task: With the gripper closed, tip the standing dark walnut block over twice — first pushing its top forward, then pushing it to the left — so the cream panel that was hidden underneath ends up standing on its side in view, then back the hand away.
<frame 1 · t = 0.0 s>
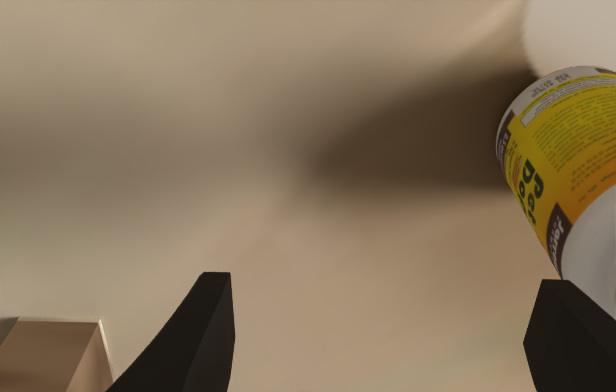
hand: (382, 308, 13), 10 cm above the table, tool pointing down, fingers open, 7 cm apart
supplement bottle: (562, 128, 22), on the table
walnut block: (70, 353, 29), on the table
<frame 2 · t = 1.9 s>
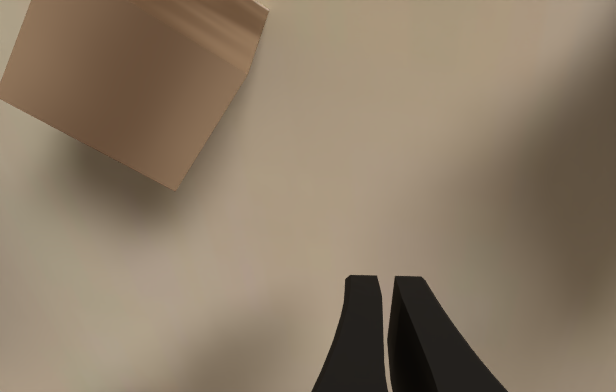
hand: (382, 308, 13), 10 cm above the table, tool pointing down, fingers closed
walnut block: (178, 17, 19), on the table
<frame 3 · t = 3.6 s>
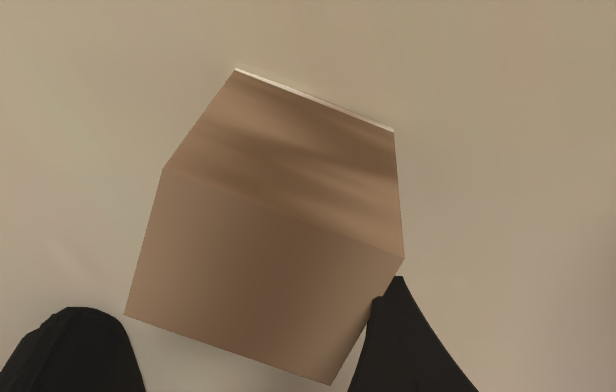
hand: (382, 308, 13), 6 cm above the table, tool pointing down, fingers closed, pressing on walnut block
walnut block: (293, 154, 18), on the table, touching gripper
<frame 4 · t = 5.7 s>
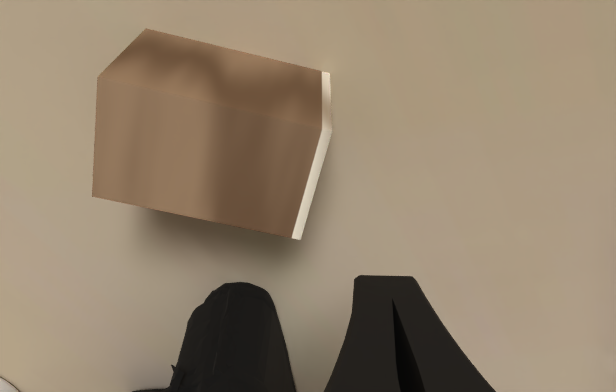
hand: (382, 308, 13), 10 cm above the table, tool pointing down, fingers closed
film camera: (215, 385, 30), on the table
walnut block: (315, 151, 19), point 2 cm above the table, tilted 90°
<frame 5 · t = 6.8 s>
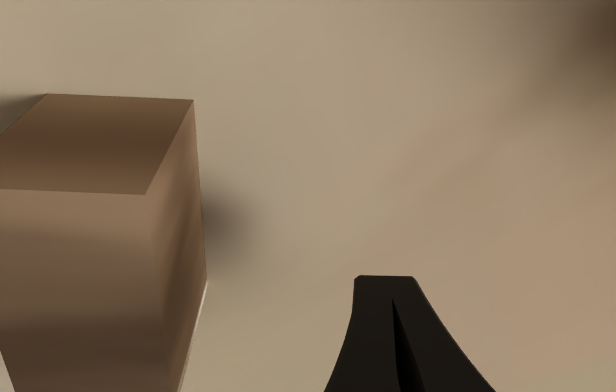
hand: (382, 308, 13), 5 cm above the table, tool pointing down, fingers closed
walnut block: (126, 339, 17), point 2 cm above the table, tilted 90°
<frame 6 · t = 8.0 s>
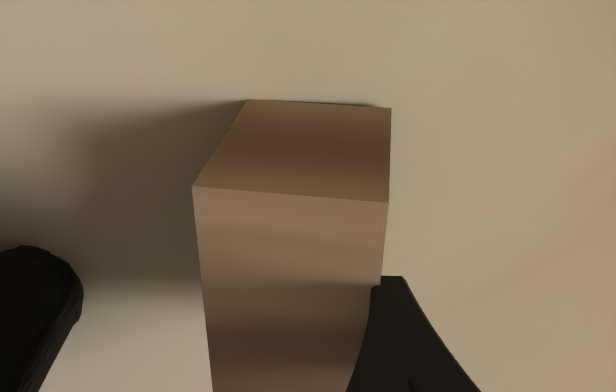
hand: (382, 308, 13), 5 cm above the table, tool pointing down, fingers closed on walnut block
walnut block: (302, 344, 17), point 3 cm above the table, tilted 90°, touching gripper
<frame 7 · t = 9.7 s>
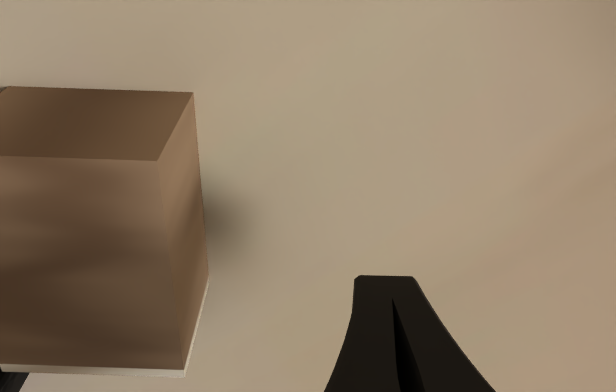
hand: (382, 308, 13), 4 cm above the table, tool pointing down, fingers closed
walnut block: (116, 322, 17), point 2 cm above the table, tilted 90°
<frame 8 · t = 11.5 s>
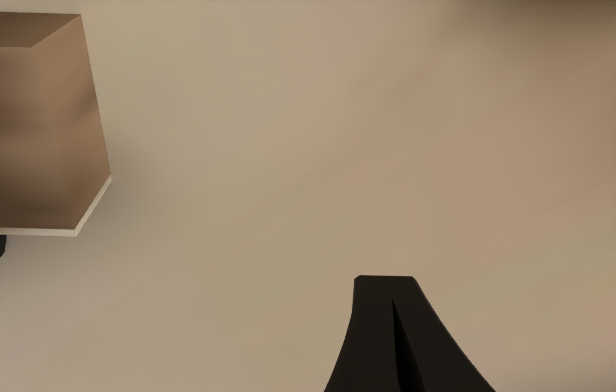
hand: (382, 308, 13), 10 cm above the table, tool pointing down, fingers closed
walnut block: (30, 204, 21), point 2 cm above the table, tilted 90°
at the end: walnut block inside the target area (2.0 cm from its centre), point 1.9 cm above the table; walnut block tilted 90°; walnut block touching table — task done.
